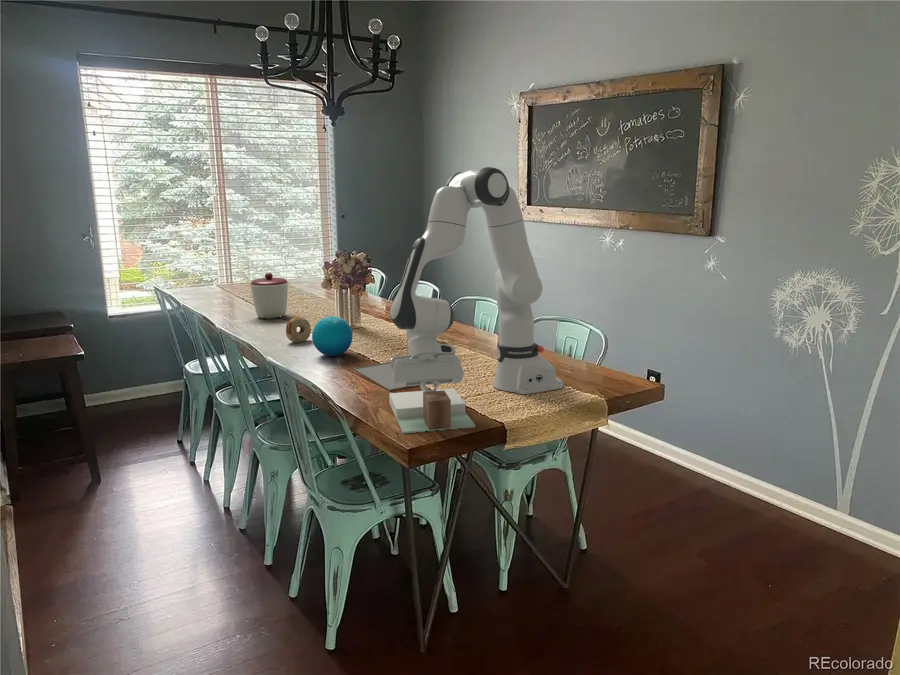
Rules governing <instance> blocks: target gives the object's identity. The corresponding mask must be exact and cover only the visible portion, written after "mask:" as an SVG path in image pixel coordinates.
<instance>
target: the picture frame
mask: <svg viewBox="0 0 900 675" xmlns="http://www.w3.org/2000/svg"><path fill="white" fill-rule="evenodd" d="M352 371H354V372H356V373H358V374H359V375H361V376H363V377H365V378H366V379H367V380H369V381H371V382H372V383H374V384H376V385H378V386H379V387H381V388H382V389H384V390H386V391H387V392H395V391H400V390H404V389H409V388H413V387H420V385H416V386H402V387H396V386H395V385H394V384H393V370H392V369H391V367H390V361H386V362H380V363H375V364H370V365H363V366H358V367H357V366H356V367H352Z"/></svg>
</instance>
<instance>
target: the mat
mask: <svg viewBox="0 0 900 675" xmlns="http://www.w3.org/2000/svg"><path fill="white" fill-rule="evenodd" d="M396 421H397V424H398V426H399V427H400V431H401V433H402V434H405V435H406V434H414V433H416V432H417V433H426V432H425V431H428V432H436V431H435V430H439V431H446V430H445V429H451V430H459V429H458V428H462V429H471V428H476V424H475V423H474V421H473V420H472V418H470V416H469V415H468V413H467V412H465V413H460V414H451V428H444V429H433V430H429V429H428V427H427V425H426V423H425V422H424V420H423V417H412V418H400V419H396Z"/></svg>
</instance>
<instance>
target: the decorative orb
mask: <svg viewBox="0 0 900 675" xmlns="http://www.w3.org/2000/svg"><path fill="white" fill-rule="evenodd" d="M311 340H312V343H313V345H314V346H313V347H314V348H315V349H316V350H317V351H318V352H319V353H320V354H322V355H324V356H327V357H337V356H340V355H342V354H343V355H344V353H345V352H347V351H348V350H349V348H351V345H352V343H353V330H352V328H351V326H350V324H349V323H348V322H347V321H346V320H345V319H343V318H342V317H338V316H336V315H335V316H332V315H331V316H325V317H323V318H322V319H320V320H318V321H317V323H315V326H314V327H313V329H312V331H311Z"/></svg>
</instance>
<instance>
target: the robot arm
mask: <svg viewBox="0 0 900 675" xmlns="http://www.w3.org/2000/svg"><path fill="white" fill-rule="evenodd" d="M471 208H472V209H475V208H481V209H482V210H483V212H484V213H485V219H486V220H485V221H486V225H487V226H486V227H487V230H488V236H489V240H490V246H491V249H492V253H493V255H494V257H495V261H496V263H497V266H498V268H497V270H496V271H495V273H494V284H495V295H496V303H497V305H496V306H497V313H498V314H497V315H498V342H497V345H496V346H497V347H496V359H497V365H496V370H495V376H494V379H493V382H492V386H493V387H494V388H495V389H497V390H499V391H500V390H501V391H503V392H504V391H505V392H509V393H516V394H519V395H529V394H535V393H541V392H548V391H554V390H560V389H563V387H564V383H563V381H562V380H561V379H560V378H558V377H557V373H556V369H555V368H554V365H553V364H552V363H550V362H549V361H548V360H547V359H545V358H544V357H543V356H542V355H540V354H542V353H544V351H545V348H544V347H543V346H542V345H540V344H537V343H535V342H534V335H535V334H534V333H535V332H534V331H535V330H534V329H535V319H534V316H533V310H532V309H533V308H532V304H534V303H536V302H537V301H538V300H539V299H540V297H541V295H542V293H543V283H542V281H541V278H540V276H539V273H538V270H537V266H536V263H535V260H534V258H533V254H532V252H531V250H530V249H531V248H530V245H529V241H528V237H527V232H526V231H527V230H526V227H525V221H524V216H523V213H522V208H521V205H520V202H519V199H518V196H517V194H516V192H515V190H514V188H512V187H511V186H510V185H509V181H508V178H507V177H506V174H505V173H504V172H503V171H502V169H501V170H500V169H499V168H497V167H492V166H486V167H475V168H471V169H468V170H465V171H458V172H457V173H455V174H453V175H451V176H450V177H449V178H448V180H447V181H446V183H445V185H444V186H441V187H440V188H438V189H437V190H436V192H435V194H434V196H433V199H432V203H431V206H430V211H429V215H428V220H427V225H426V229H425V231H424V232H423V235H422V236H421V237H419V238H417V239H416V240H415V241H414V243H413V244H412V247H411V249H410V251H409V253H408V256H407V259H406V264H405V266H404V270H403V273H402V275H401V276H402V277H401V279H400V282H399V285H398V287H397V291H396V293H395V296H394V298H393V300H392V302H391V305H390V309H389V319H390V320H391V321H392V322H393V324H394V326H396V328H397V329H399V330H405V335H406V338H407V340H408V345H407V348H408V354H403V355H395V356H394V357H391V358H390V360H389V362H390V367H391V369H392V370H393V384H394V385H395V386H396V387H402V386H415V387H417V386H416V385H420V386H419V387H420V388H419V389H421V391H423V392H431V391H436V390H438V388H439V385H441V384H457V383H460V382H462V380H463V379H464V375H465V374H464V373H465V372H464V369H463V365H462V362H461V360H460V358H459V357H458V356H457V355H456V347H454V346H452V345H448V344H444V343H440V342H438V339H437V338H438V337H439V336H441V335H443V334H444V333H446V332H447V331H448V330H449V329H450V328H451V327H452V326H453V324H454V320H455V314H454V309H453V307H452V305H451V303H450V302H449V301H448V300H445V299H441V298H437V297H436V298H434V297H429V296H428V297H427V296H421V295H417V294H416V291H417V288H418V285H419V281H420V278H421V275H422V272H423V269H424V268H425V266H426V264H427V263H429V262H431V261H432V260H436V259H439V258H443V257H448V256H450V255H453V254H455V253H456V252H458V251H459V250H460V249H461V247H463V244H464V242H465V237H466V230H467V222H468V215H469V211H470V210H471ZM539 353H540V354H539ZM428 385H430V386H431V385H432V387H433V389H428V388H427V386H428Z"/></svg>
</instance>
